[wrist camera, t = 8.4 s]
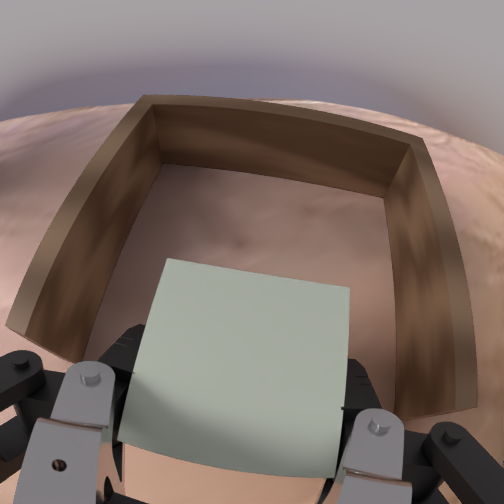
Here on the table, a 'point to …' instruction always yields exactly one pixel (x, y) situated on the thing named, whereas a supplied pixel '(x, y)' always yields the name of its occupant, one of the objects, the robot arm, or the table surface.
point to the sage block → (241, 372)
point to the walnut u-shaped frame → (277, 165)
